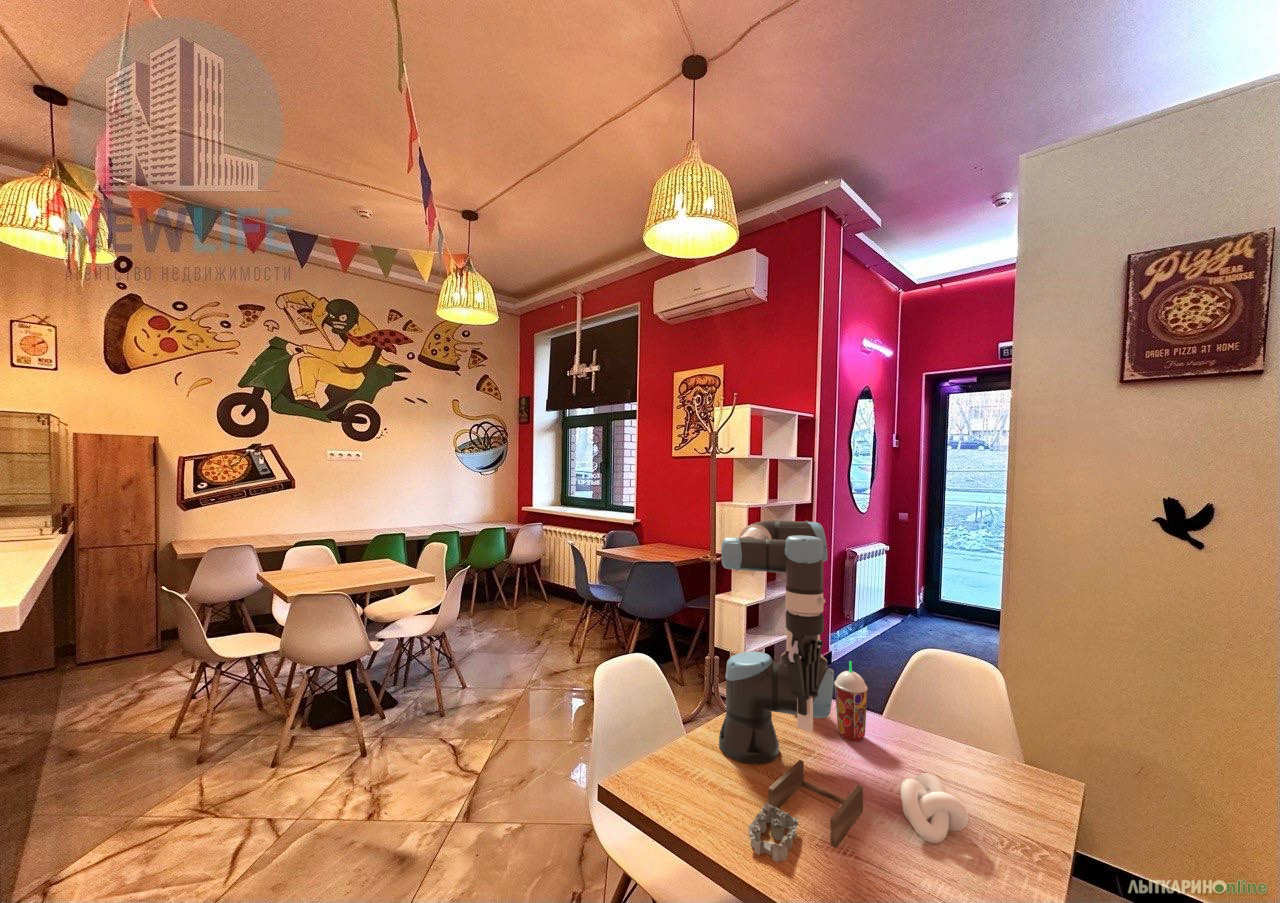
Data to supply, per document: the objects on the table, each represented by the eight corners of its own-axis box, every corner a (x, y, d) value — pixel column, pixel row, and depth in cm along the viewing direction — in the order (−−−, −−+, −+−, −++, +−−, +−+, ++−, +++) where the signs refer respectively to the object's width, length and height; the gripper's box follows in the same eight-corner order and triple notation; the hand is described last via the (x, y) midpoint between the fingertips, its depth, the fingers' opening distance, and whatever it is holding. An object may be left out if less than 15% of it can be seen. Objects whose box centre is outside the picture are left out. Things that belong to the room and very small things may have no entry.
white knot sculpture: (884, 807, 104) (883, 763, 104) (941, 809, 103) (940, 765, 104) (912, 846, 92) (911, 797, 93) (976, 849, 92) (975, 799, 93)
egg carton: (783, 869, 87) (783, 845, 87) (744, 850, 91) (744, 827, 91) (802, 834, 96) (802, 812, 96) (765, 818, 100) (765, 797, 100)
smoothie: (873, 745, 128) (872, 667, 129) (842, 744, 128) (841, 666, 130) (860, 729, 136) (859, 656, 138) (830, 728, 137) (829, 655, 138)
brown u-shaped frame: (768, 812, 101) (768, 787, 101) (799, 782, 112) (799, 759, 112) (836, 848, 92) (835, 820, 92) (863, 811, 102) (862, 786, 102)
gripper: (808, 621, 94) (808, 748, 92) (835, 609, 103) (836, 724, 102) (772, 613, 99) (772, 733, 97) (801, 602, 108) (801, 711, 107)
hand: (805, 728), depth 99 cm, fingers closed
